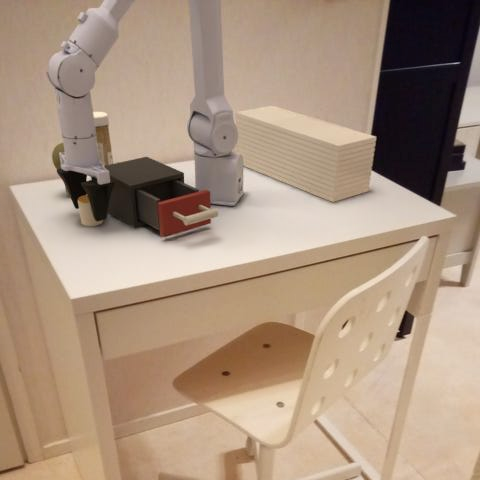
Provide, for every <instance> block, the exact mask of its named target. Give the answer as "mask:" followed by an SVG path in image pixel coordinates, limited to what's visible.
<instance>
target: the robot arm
mask: <svg viewBox="0 0 480 480" xmlns="http://www.w3.org/2000/svg"><path fill="white" fill-rule="evenodd" d="M134 3H136V0H103V1H102V3H101V4H100V6H99V7H90V8H88V9H86V11H85V12H83V11H80V13H79V14H78V16H77V18H76V20H78V22H79V23H78V24H77V25H76V27H75V28H74V30H73V31H72V32H71V34H70V36H69V38H68V39H67V41H65V40H63V41H62V42H61V44H60V48H61V49H62V50H59V51H58V52H56V53H54V54H53V55H52V56H51V57H50V59H49V61H48V63H47V66H48V68H47V70H46V72H45V74H46V77H47V79H48V81H49V83H50V85H52V87H54V93H55V99H56V108H57V114H58V118H59V119H58V120H59V125H60V126H59V127H60V131H61V132H60V133H61V138H62V143H63V145H64V151H65V152H61V153H59V156H60V162H61V168H60V169H56V173H57V175H58V176H59V177H60V179H61V181H62V182H63V184H64V187H65V186H66V188H67V190H68V192H69V194H68V195H69V197H70V199H71V202H72V204H73V205H72V206H73V207H74V209H75V210H79V206H78V198H79V197H81V196H84V195H87V196H88V198H89V201H90V205H91V209H92V213H93V216H94V219H95V221H101V220H103V221H104V220H108V214H109V213H108V205H109V199H110V195H111V192H112V190H113V188H114V186H115V181H114V180H113V179H111V178H110V175H109V171H108V170H106V169H105V167H104V165H103V164H102V162H101V160H100V159H99V152H98V145H97V137H96V130H95V122H94V114H93V112H94V108H93V107H94V106H93V103H92V95H91V90H93V89H94V86H95V84H96V83H95V82H96V72H97V71H98V69H99V68H100V66H101V64H102V63H103V62H104V60H105V59H106V58H107V56H108V54H109V53H110V51H111V50H112V48H113V47H114V45H115V44H116V42H117V41H118V40H119V38H120V37H119V36H120V35H119V34H120V33H119V23H120V22H121V20H123V18H124V16H125V15H126V14H127V12H129V10H130V9H131V7H132V6H133V4H134ZM221 3H222V1H221V0H188V13H189V27H190V42H191V55H192V56H191V57H192V70H193V85H194V97H193V99H192V101H191V102H190V104H189V108H190V109H189V117H188V120H187V124H186V127H187V128H186V130H187V131H186V132H187V134H188V137H189V139H190V140H191V141H192V142H193V155H194V183H195V184H194V185H195V186H194V188H196V189H198V190H199V191H203V190H208V191H210V205H219V206H228V207H229V206H230V207H235V206H236V205H237V203H238V202H239V201H240V199H241V198H242V197H243V196H244V194H245V191H244V167H245V166H244V164H243V156H242V155H241V154H236V153H235V151H234V152H233V150H234V149H235V145H236V143H237V140H238V130H237V127H236V122H235V120H234V111H233V109H232V107H231V105H230V104H229V101H228V99H227V98H226V95H225V77H224V76H225V74H224V53H223V49H224V48H223V29H222V27H223V25H222V4H221ZM88 177H90V179H91V180H87V179H88Z"/></svg>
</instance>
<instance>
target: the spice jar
mask: <svg viewBox="0 0 480 480" xmlns="http://www.w3.org/2000/svg"><path fill="white" fill-rule="evenodd" d="M93 114H94V122H95V130H96V137H97V145H98V152H99V159H100V160H101V162H102V164H103V165H104V166H106V165H111V164H114V158H113V150H112V142H111V136H110V128H109V127H110V125H109V124H110V121H109V114H108V113H107V112H104V111H93Z"/></svg>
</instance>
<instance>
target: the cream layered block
mask: <svg viewBox="0 0 480 480" xmlns="http://www.w3.org/2000/svg"><path fill="white" fill-rule="evenodd" d="M235 125H236V127H237V130H238V140H237V143H236V145H235V147H234V149H235V151H234V153H236V154H241V155H242V156H243V164H244V167H246V168H248V169H250V170H253V171H255V172H258V173H260V174H263V175H265V176H268V177H269V178H272V179H275V180H277V181H280V182H282V183H285V184H287V185H289V186H291V187H294V188H297V189H300V190H302V191H304V192H307V193H310V194H312V195H315V196H317V197H318V198H322V199H324V200H327V201H329V202H331V203H334V202H337V201H341V200H344V199H348V198H352V197H354V196H358V195H360V194H364V193H368V192H369V191H370V185H371V177H372V171H373V165H374V157H375V151H376V144H377V143H376V142H377V136H376V135H372V134H369V133H365V132H362V131H359V130H355V129H352V128H349V127H345V126H341V125H338V124H336V123H332V122H328V121H325V120H322V119H318V118H315V117H311V116H308V115H305V114H301V113H298V112H294V111H292V110H288V109H285V108H281V107H278V106H275V105H268V106H263V107H256V108H251V109H245V110H240V111H235Z"/></svg>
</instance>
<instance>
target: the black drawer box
mask: <svg viewBox="0 0 480 480" xmlns="http://www.w3.org/2000/svg"><path fill="white" fill-rule="evenodd" d="M104 167H105V169H106V170H108V171H109V175H110V178H111V179H113V180H114V181H115V186H114V188H113V190H112V192H111V195H110V199H109V205H108V213H107V214H110V215H112V216H113V217H115V218H116V219H119V220H120V221H122V222H124V223H125V224H127V225H129V226H131V227H133V228H134V229H136V228H139V227H142V226H146V225H148V224H147V223H145V222H143V221H141V220H139V219H138V218H137V210H136V200H135V190H134V189H138V188H142V187H146V186H150V185H154V184H158V183H162V182H166V181H171V180H175V179H176V180H179V181H181V182H183V183H185V173H184V172H183V171H180V170H179V169H176V168H173V167H171V166H170V165H167V164H165V163H162V162H161V161H158V160H157V159H153V158H152V157H149V156H143V157H139V158H133V159H130V160H125V161H120V162H115V163H113V164H111V165H106V166H104Z"/></svg>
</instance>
